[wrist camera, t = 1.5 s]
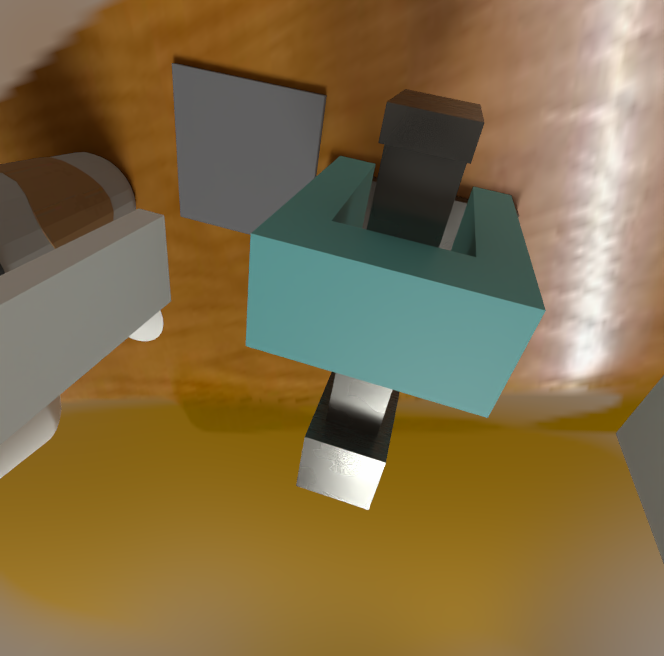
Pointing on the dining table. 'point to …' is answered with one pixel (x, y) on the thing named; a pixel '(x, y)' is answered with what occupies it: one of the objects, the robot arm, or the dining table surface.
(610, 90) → the dining table surface
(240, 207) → the mat
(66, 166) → the coffee cup
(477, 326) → the u-shaped block
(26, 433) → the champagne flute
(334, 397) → the stand
